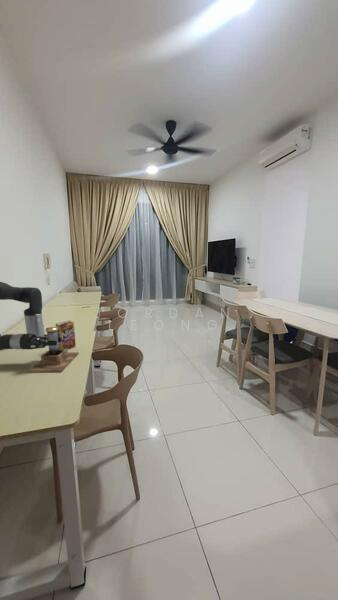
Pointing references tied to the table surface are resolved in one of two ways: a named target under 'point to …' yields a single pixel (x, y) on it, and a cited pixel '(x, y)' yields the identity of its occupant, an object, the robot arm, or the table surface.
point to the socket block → (54, 361)
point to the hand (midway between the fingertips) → (58, 341)
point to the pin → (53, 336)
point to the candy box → (66, 334)
